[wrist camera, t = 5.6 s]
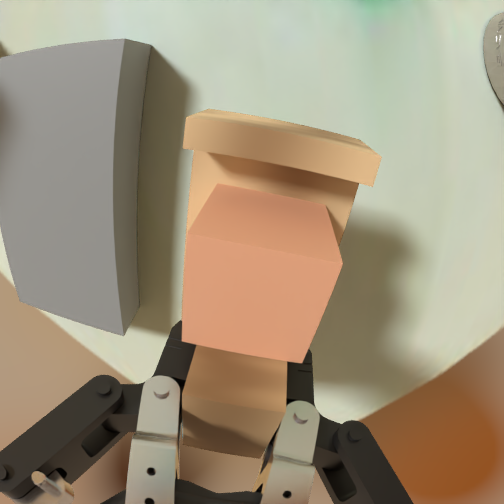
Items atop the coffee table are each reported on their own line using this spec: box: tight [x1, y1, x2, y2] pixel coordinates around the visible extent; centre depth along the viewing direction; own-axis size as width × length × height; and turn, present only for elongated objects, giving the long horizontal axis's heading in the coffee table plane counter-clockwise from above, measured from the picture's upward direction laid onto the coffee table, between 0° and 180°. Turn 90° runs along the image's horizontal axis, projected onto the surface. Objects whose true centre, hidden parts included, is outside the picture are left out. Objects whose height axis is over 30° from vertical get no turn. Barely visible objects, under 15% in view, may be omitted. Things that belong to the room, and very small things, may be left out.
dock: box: [0, 39, 151, 336], centre depth 20 cm, size 12×22×4 cm, turn 170°
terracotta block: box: [182, 183, 343, 363], centre depth 11 cm, size 4×4×4 cm
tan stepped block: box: [182, 109, 382, 458], centre depth 12 cm, size 6×17×8 cm, turn 170°
